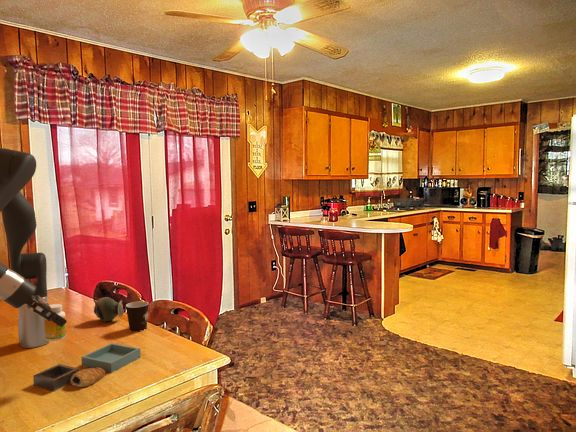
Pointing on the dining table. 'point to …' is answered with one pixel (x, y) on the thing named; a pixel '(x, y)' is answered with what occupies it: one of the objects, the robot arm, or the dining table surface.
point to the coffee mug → (137, 315)
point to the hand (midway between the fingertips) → (62, 321)
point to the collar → (47, 377)
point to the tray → (111, 357)
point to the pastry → (87, 377)
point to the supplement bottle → (55, 325)
